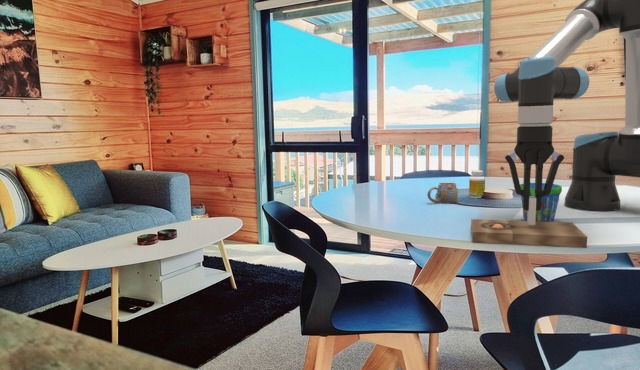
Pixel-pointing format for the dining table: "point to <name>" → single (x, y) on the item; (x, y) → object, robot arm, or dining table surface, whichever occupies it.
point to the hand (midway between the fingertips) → (531, 223)
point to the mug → (445, 193)
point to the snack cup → (545, 203)
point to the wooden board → (528, 233)
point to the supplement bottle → (476, 184)
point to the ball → (497, 226)
